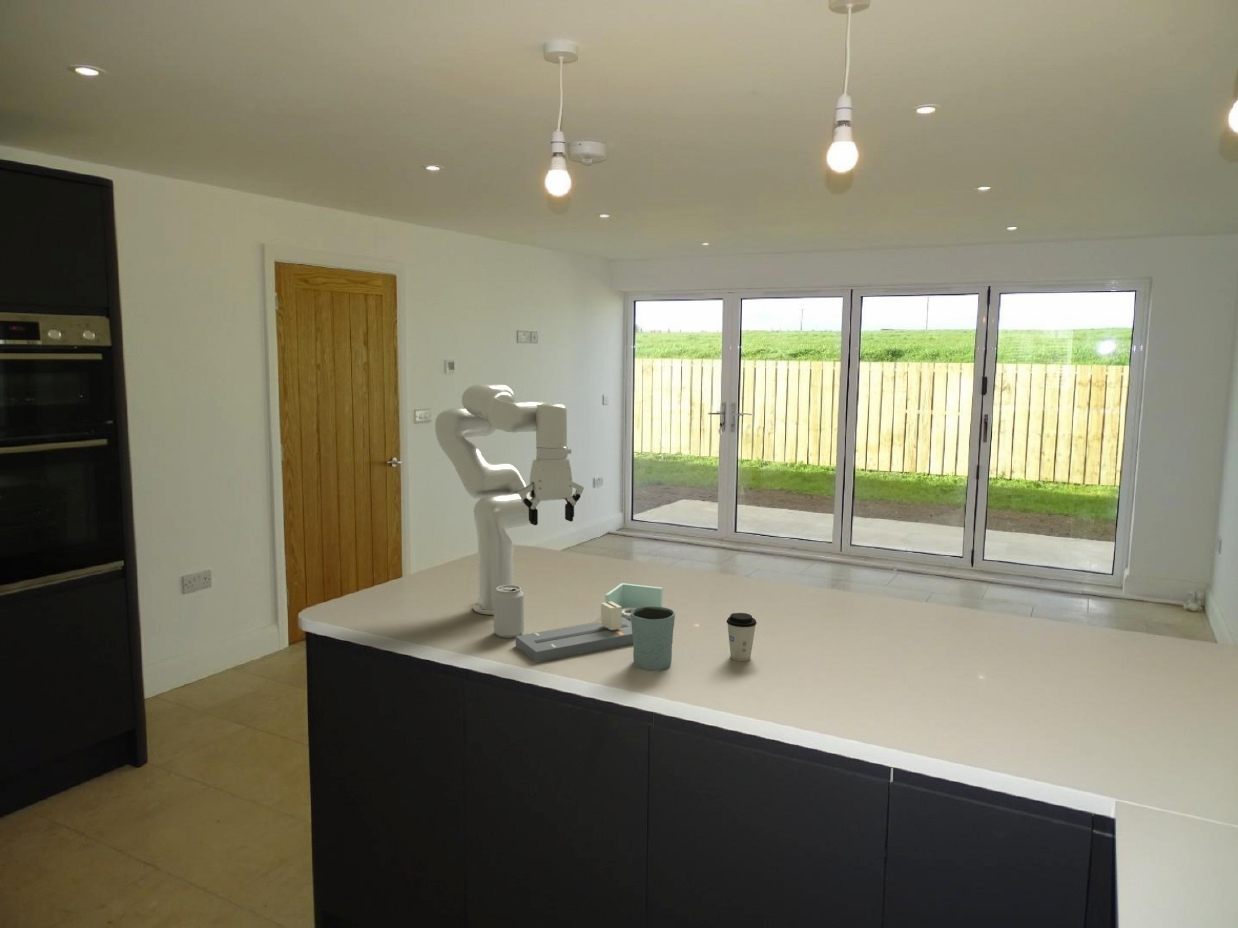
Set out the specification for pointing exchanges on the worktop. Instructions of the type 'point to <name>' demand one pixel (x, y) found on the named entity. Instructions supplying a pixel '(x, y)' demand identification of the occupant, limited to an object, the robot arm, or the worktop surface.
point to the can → (508, 611)
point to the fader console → (573, 640)
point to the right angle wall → (635, 597)
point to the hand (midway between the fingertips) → (551, 522)
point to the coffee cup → (741, 635)
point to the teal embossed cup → (652, 637)
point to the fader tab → (611, 615)
